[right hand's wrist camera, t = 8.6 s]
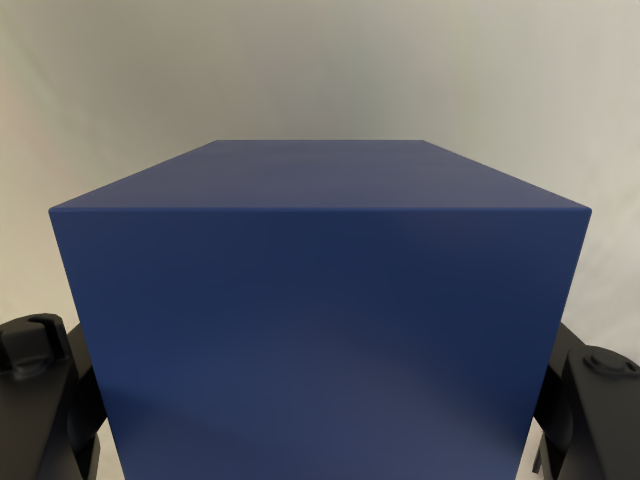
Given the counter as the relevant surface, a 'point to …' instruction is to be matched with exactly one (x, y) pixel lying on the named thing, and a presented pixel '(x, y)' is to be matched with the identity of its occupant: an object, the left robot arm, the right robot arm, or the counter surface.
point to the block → (320, 310)
